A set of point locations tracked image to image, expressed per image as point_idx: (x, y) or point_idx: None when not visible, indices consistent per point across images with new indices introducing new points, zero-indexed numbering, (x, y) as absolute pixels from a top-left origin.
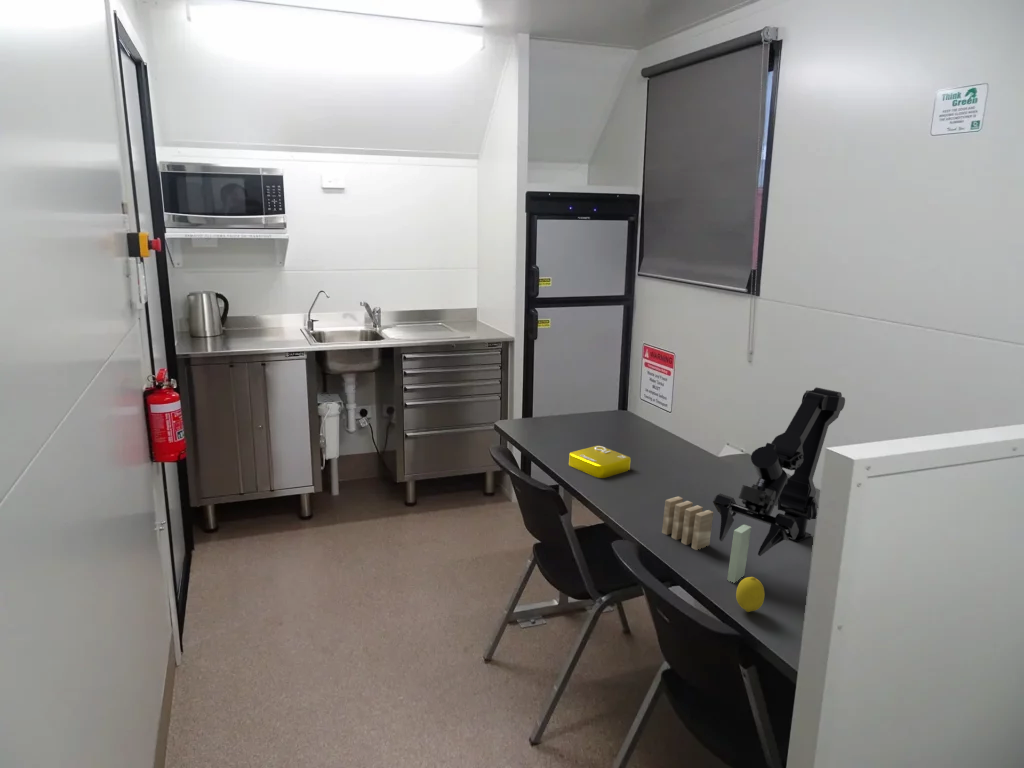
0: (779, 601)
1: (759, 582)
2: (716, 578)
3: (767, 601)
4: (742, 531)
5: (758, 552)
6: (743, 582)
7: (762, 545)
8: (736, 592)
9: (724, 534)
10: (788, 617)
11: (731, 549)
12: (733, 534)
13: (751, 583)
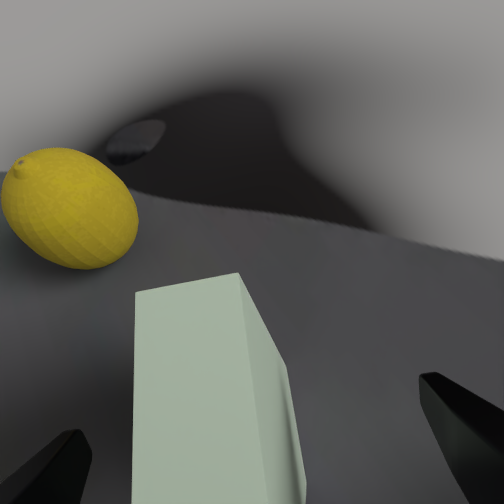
0: (57, 414)
1: (3, 187)
2: (323, 339)
3: (92, 368)
4: (149, 345)
5: (71, 435)
6: (68, 150)
7: (10, 496)
8: (121, 181)
9: (458, 452)
10: (4, 336)
11: (268, 334)
12: (247, 293)
13: (29, 153)
